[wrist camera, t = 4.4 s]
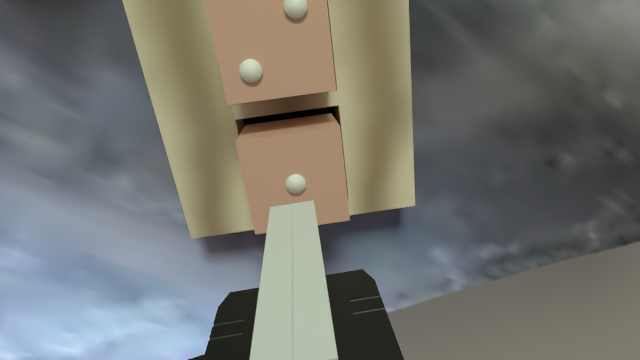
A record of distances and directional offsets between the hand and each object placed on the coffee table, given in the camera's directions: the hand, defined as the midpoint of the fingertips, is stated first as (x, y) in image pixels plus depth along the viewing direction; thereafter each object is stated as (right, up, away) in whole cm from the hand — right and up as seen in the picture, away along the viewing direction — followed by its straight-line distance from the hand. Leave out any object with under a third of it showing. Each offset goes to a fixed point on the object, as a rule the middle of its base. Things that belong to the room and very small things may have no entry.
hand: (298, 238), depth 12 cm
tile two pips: (-2, +10, +9) cm, 14 cm away
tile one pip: (-1, +3, +11) cm, 12 cm away
